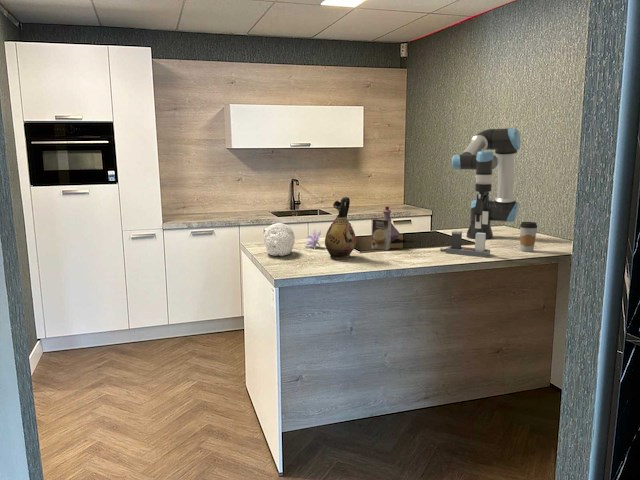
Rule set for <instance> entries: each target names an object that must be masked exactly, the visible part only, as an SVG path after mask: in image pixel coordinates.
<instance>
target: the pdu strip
mask: <svg viewBox="0 0 640 480" xmlns="http://www.w3.org/2000/svg"><path fill="white" fill-rule="evenodd" d="M439 251H440V252H444V253H445V254H447V255H448V254H449V255H456V256H457V255H458V256H465V257H466V256H468V257H477V258H484V259H485V258H487V257H489V256H490V255H491V249H489V248H488V249H486V248H485V252H480V251H475V247H468V246H461V249H451V245H450V246H448V247H447V248H443V247H442V248H440V250H439Z"/></svg>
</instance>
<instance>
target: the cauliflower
mask: <svg viewBox="0 0 640 480" xmlns="http://www.w3.org/2000/svg"><path fill="white" fill-rule="evenodd" d="M262 239H263V245H264V247H265V250H266V252H267V253H268V254H269V255H270V256H272V257H278V256H280V257H285V256H287V255H289V254H291V252H292V251H293V249H294V245H295V243H296V242H295V239H296V238H295V234H294V231H293V229H292V228H291V226H289V225H288V224H285V223H281V222H278V223H273V224H271V225H268V227H267V228H266V230H265V231H264V234H263V237H262Z"/></svg>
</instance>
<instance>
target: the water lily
mask: <svg viewBox="0 0 640 480" xmlns="http://www.w3.org/2000/svg"><path fill="white" fill-rule="evenodd" d="M321 234H322V230H319V232H317V229H316V228H314V230H313V233H310V234H309V235H307V236H306V237H305V238H306V240H307V241H305V243H306V244H305V245H304V247H305V246H307V247H311V248H312V249H313V248H314V249H313V250H315V249H316V248H317V245H318V246H319V247H320V246H321V244H320V243H319V241H320V237H321Z"/></svg>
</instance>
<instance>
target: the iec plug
mask: <svg viewBox="0 0 640 480" xmlns="http://www.w3.org/2000/svg"><path fill="white" fill-rule="evenodd" d="M486 240H487V239H486V233H476V237H475V239H474V242H475V243H474V248H475V251H480V252H485V249H486Z"/></svg>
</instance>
